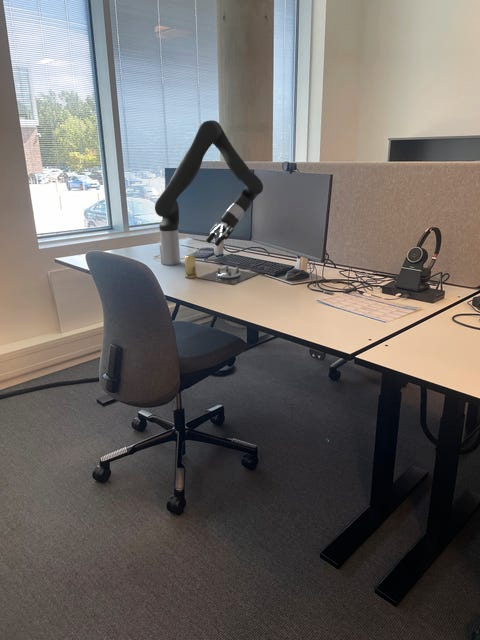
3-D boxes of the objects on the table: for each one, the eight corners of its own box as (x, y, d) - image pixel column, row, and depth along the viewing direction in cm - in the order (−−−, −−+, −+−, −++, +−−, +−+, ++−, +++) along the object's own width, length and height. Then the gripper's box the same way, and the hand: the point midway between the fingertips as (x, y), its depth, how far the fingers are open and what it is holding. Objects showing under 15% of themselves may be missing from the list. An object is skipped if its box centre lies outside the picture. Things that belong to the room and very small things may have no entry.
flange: (197, 278, 207) (197, 269, 206) (224, 268, 222) (224, 260, 221) (233, 285, 196) (232, 275, 194) (258, 274, 211) (258, 265, 209)
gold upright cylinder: (183, 277, 209) (181, 256, 205) (190, 275, 213) (189, 253, 209) (191, 279, 206) (190, 257, 202) (199, 276, 210) (198, 255, 206)
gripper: (220, 208, 214) (199, 235, 213) (235, 212, 202) (213, 240, 201) (230, 219, 218) (210, 245, 217) (245, 223, 206) (224, 251, 205)
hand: (211, 243), depth 209 cm, fingers open, 8 cm apart
